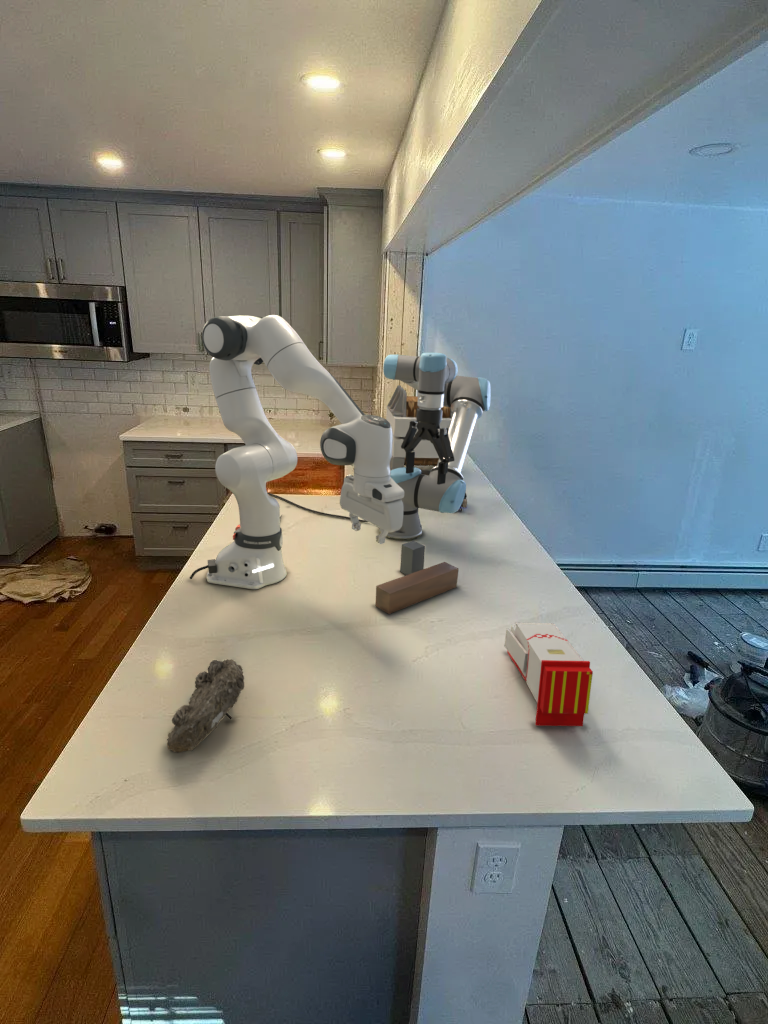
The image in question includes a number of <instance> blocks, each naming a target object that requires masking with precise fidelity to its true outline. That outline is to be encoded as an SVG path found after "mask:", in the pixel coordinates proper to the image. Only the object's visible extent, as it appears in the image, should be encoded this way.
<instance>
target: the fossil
mask: <svg viewBox="0 0 768 1024" xmlns="http://www.w3.org/2000/svg"><path fill="white" fill-rule="evenodd" d="M243 670H244V669H243V667H242V665H240V664H237V662H236V661H235V660H234V659H232V658H231V659H227V658H226V659H224V660H223V661H222V660H217V659H212V660H211V661H210V663H209V665H208V666H207V671H201V672H199V673H198V674H197V675H196V676H195V680H194V684H195V685H194V687H195V689H194V690H193V693H192V694H191V697H190V698H189V700H188V704H184V705H182V706H181V707H180V709H177V710H176V711H175V713H174V715H173V716H172V718H171V723H172V724H173V727H172V730H171V731H170V732H168V734H167V738H166V741H167V742H166V745H167V749H168V750H169V751H173V752H174V753H176V754H178V753H182V752H188V751H189V752H192V751H193V750H195V748H196V747H197V746H199V744H200V743H201V742H203V741H204V740H205V739H206V738H207V737H208V736H209V735H210V734H211V733H212V732H214V730H215V729H217V727H218V726H219V724H220V722H221V721H222V720H223V719H224V718H225V716H226V717H227V719H229V720H233V717H232V715H230V714H229V710H230V709H231V708H234V706H235V704H236V703H237V702H238V699H239V697H240V695H241V693H242V691H243V690H245V689H244V688H245V675H244V671H243Z"/></svg>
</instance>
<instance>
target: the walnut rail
mask: <svg viewBox="0 0 768 1024" xmlns="http://www.w3.org/2000/svg"><path fill="white" fill-rule="evenodd" d="M458 577H459V567H457V566H455V565H452V564H451V563H448V562H446V561H442V562H440V563H437V564H434V565H432V566H428V567H426V568H425V567H424V569H423V570H420V571H417V572H414V573H411V574H409V575H406V574H405V575H403V576H400V577H397V578H394V579H391V580H389V581H386V582H384V583H380V584H378V585H376V586H375V604H374V605H375V607H376V608H378V609H379V610H381V611H382V612H384V613H386V614H387V615H391V614H394V613H396V612H398V611H400V610H403V609H406V608H408V607H411V606H414V605H416V604H418V603H420V602H424V601H426V600H428V599H431V598H433V597H435V596H439V595H441V594H443V593H446V592H448V591H450V590H453V589H455V588H457V586H458Z"/></svg>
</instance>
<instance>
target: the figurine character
mask: <svg viewBox="0 0 768 1024" xmlns="http://www.w3.org/2000/svg"><path fill="white" fill-rule="evenodd" d="M467 495H468V494H467V493H466V492H465V496H464V499H463V502H462V504H461V506H460V508H459V510H460V512H463V509H464V508H465V509H466V508H467V506H468V499H467V497H468V496H467Z"/></svg>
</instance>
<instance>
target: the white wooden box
mask: <svg viewBox="0 0 768 1024" xmlns="http://www.w3.org/2000/svg"><path fill="white" fill-rule="evenodd" d="M407 394H408V393H407V390H406V389H404V388H403V387H402V385H399V384H398V385H397V386H396V388H395V390H394V392H393V394H392V395H391V398H390V400H389V402H388V404H387V405H386V413H385V414H386V415H385V419H386V420H387V421H388V422H389V423H390V425H391V428H392V434H393V447H392V457H391V460H390V471H391V470H393V469H397V468H403V467H405V466H406V461H405V457H406V452H405V450H404V449H402V448H401V445H402V443H403V440H404V438H405V436H406V434H407V431H408V429H409V425H410V421H416V415H417V409H418V408H419V407H418V406H417V402H418V395H417V396H415V395H414V396H413V395H412V396H411V395H407ZM441 409H442V410H443V413H442V421H441V423H440V428H449V425H450V422H451V419H452V415H453V412H452V410H451V407H445V406H443V407H442V408H441ZM417 432H418V429H417V431H416V433H417ZM416 433H415V434H416ZM414 437H415V435H414ZM414 437H413V438H414ZM435 439H436V438H435ZM412 452H415V459H414V467H417V466H418V467H436V466H437V464H438V460H439V456H438V454H437V452H436V450H435V448H434V445H433V444H432V443H431V442H430V441H428V440H426V439H422V440H421V441H420V442H419V444H418V445H417V446H416V447H415V449H414V451H412Z"/></svg>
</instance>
